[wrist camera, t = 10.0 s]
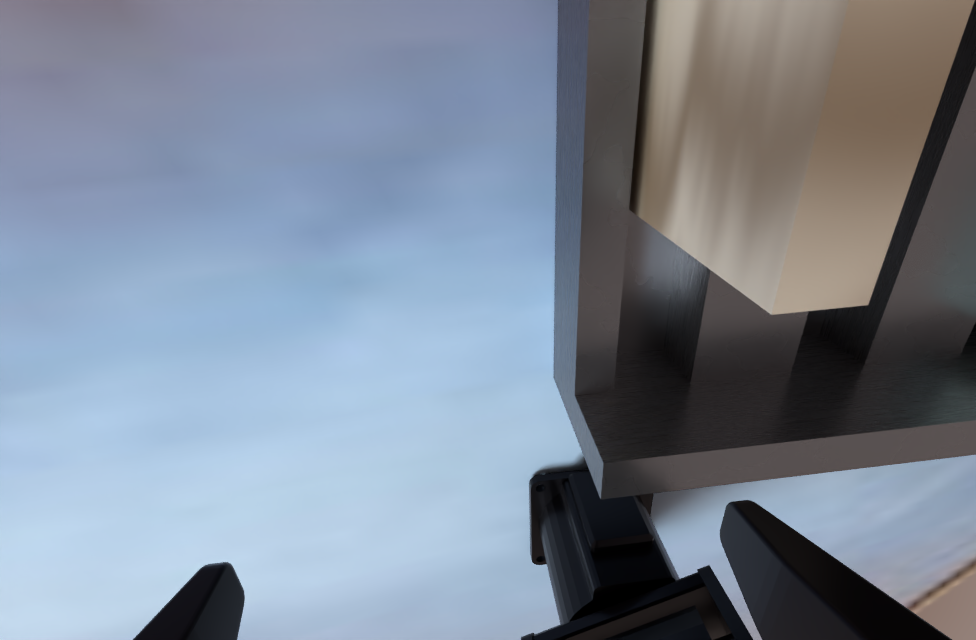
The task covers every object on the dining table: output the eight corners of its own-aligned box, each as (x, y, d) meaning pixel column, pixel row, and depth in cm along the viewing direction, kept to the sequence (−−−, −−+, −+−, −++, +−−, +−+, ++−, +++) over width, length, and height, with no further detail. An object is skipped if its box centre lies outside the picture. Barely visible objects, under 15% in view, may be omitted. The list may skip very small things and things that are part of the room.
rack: (964, 335, 23) (1155, 432, 17) (553, 377, 22) (600, 499, 16) (1303, -382, 13) (2102, -792, 7) (562, -380, 12) (709, -883, 5)
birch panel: (670, 196, 17) (868, 304, 10) (617, 200, 17) (771, 314, 9) (695, -2, 15) (1001, -81, 7) (630, 2, 15) (866, -73, 7)
